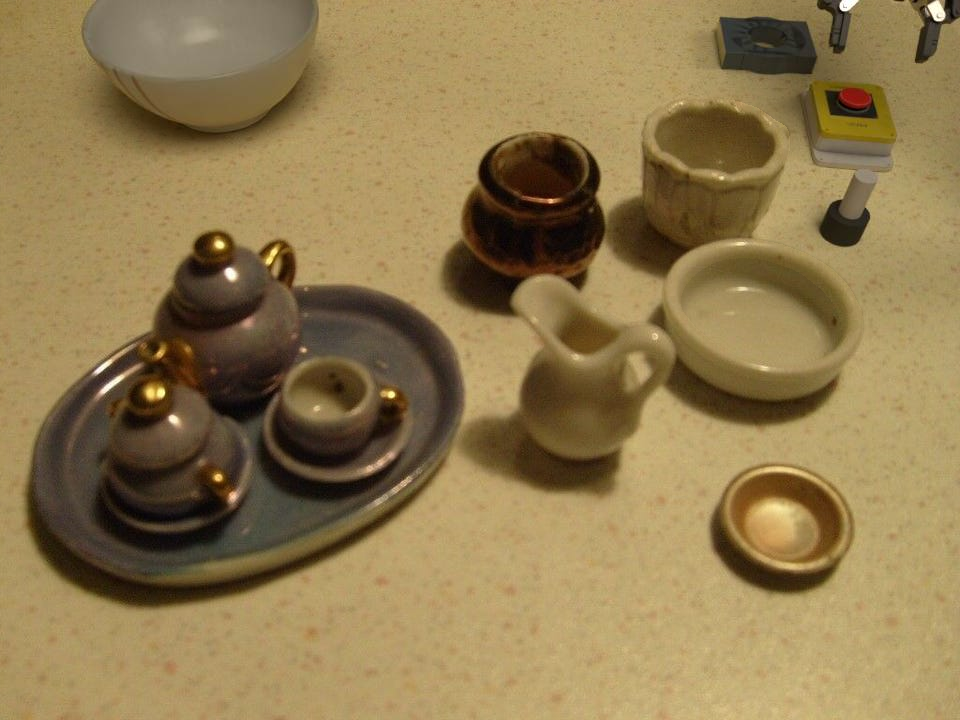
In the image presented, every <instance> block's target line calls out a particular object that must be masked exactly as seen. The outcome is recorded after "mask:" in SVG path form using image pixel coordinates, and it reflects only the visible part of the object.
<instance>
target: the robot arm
mask: <svg viewBox="0 0 960 720" xmlns="http://www.w3.org/2000/svg"><path fill="white" fill-rule="evenodd" d="M859 1H860V0H817V1H816V7H817V9H818V10H821V11H826V12H828V13H829V14H830V15H831V17H832V19H831V26H830V32H829V37H828V46H829V48H832V54H836V55H840V54H842V53H844V51H845V49H846V45H847V42H848V41H847V40H848V36H849V29H850V25H851V19H852V13H851V12H850V10H851V9H852V8H853V7H854V6H855V5H856V4H857V3H858V2H859ZM893 1H894V2H899V3H901V2H902V3H903V2H905V1H906V0H893ZM908 2H909V3H910V5H911V7H912V9H913V10H914V11H915V12H917V14H918V16H919V17H920V19H921V21H922V24H923V25H922V27H920V31H919V34H918V35H919V36H918V41H917V45H916V51H915V55H914V63H915V64H920V65H922V64H924V63H926V62H927V61H928V60H929V59H930V58H931V57H933V56H934V55H935V54H936V52H937V49H938V44H939V40H940V35H941V29H942V26H943V25H950V24H952V23H954V22H955V21H957V20H958V19H960V0H944V6H942V4H941V1H939V0H908Z"/></svg>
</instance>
